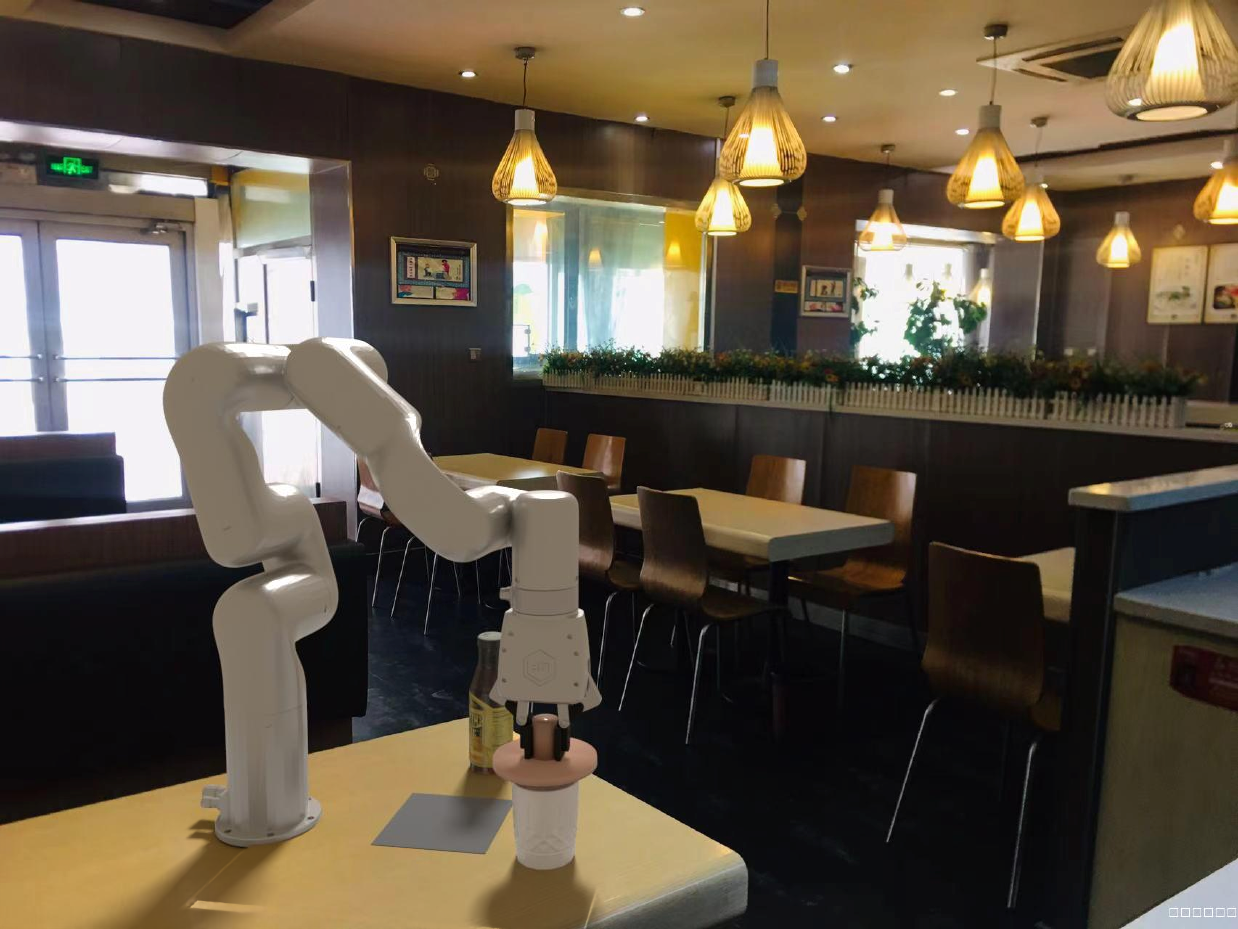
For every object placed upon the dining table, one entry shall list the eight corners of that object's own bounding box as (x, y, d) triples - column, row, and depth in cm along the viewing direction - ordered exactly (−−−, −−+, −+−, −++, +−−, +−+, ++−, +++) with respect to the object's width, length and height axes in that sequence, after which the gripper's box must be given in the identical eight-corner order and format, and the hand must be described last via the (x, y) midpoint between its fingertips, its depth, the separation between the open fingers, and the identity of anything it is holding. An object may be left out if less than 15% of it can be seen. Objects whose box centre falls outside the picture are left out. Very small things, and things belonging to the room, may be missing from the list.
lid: (480, 782, 104) (480, 735, 103) (507, 740, 116) (507, 697, 115) (587, 789, 102) (588, 741, 102) (604, 746, 114) (604, 703, 114)
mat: (370, 849, 112) (370, 844, 112) (412, 797, 126) (412, 792, 126) (485, 858, 110) (485, 853, 110) (514, 804, 124) (514, 800, 124)
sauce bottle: (466, 763, 137) (465, 629, 135) (508, 758, 139) (508, 626, 137) (473, 782, 130) (472, 642, 129) (517, 777, 132) (517, 638, 130)
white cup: (569, 880, 105) (569, 794, 104) (502, 872, 107) (502, 788, 106) (586, 846, 113) (586, 766, 112) (523, 839, 115) (523, 760, 114)
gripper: (466, 604, 105) (467, 764, 106) (611, 611, 102) (609, 774, 104) (485, 589, 112) (485, 739, 114) (620, 595, 110) (619, 747, 111)
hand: (545, 754), depth 109 cm, fingers closed on lid, 2 cm apart
